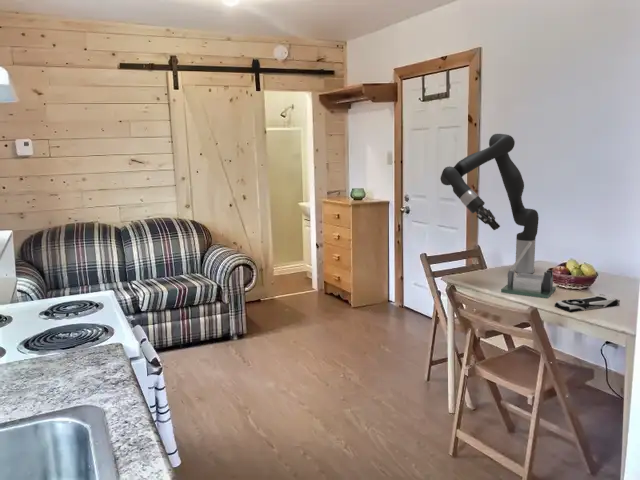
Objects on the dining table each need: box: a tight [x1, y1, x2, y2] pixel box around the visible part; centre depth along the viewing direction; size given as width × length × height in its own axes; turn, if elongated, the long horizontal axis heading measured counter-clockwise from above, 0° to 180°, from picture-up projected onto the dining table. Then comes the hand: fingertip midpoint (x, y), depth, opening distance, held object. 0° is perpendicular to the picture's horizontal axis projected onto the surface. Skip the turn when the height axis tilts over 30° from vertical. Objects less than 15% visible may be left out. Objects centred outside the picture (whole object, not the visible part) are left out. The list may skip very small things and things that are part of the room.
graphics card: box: [554, 293, 621, 313], centre depth 223 cm, size 10×3×25 cm
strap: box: [508, 242, 532, 272], centre depth 246 cm, size 17×3×2 cm
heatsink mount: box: [500, 269, 556, 299], centre depth 246 cm, size 20×16×10 cm
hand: (497, 228), depth 250 cm, fingers open, 3 cm apart
